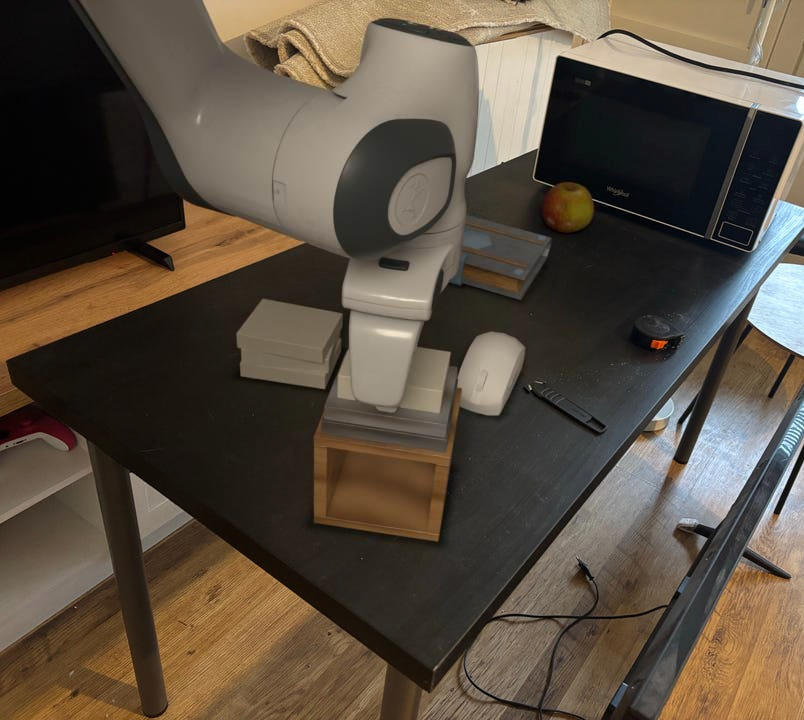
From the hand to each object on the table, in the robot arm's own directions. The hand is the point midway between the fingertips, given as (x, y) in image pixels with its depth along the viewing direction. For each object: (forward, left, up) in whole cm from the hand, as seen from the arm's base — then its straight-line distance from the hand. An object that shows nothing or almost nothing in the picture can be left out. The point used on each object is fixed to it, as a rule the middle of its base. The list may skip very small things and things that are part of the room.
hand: (394, 381), depth 66 cm
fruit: (+70, -19, -15) cm, 74 cm away
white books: (+19, +15, -14) cm, 28 cm away
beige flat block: (0, 0, 0) cm, 0 cm away
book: (+52, -4, -15) cm, 54 cm away
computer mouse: (+21, -9, -15) cm, 27 cm away
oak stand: (0, 0, -14) cm, 14 cm away
